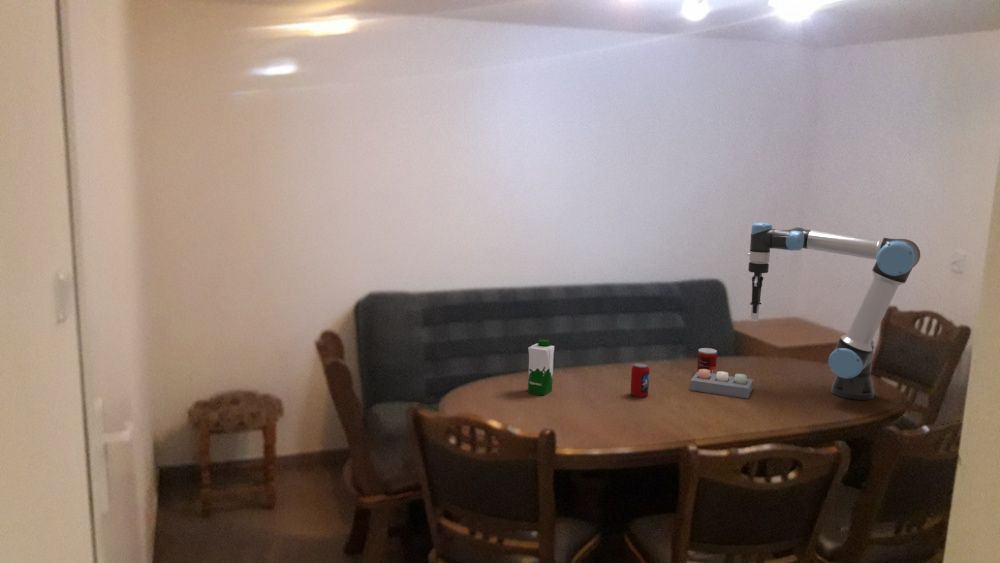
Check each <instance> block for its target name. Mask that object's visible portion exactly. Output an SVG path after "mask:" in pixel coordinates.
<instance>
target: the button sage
mask: <svg viewBox="0 0 1000 563" xmlns="http://www.w3.org/2000/svg"><path fill="white" fill-rule="evenodd" d="M734 377H735V382H734V383H736V384H743V385H746V381H747V375H746V374H744V373H735V375H734Z"/></svg>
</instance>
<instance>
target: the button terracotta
mask: <svg viewBox="0 0 1000 563" xmlns="http://www.w3.org/2000/svg"><path fill="white" fill-rule="evenodd" d="M698 378H700V379H707V380H709V379H710V370H708V369H699V375H698Z"/></svg>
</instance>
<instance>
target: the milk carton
mask: <svg viewBox="0 0 1000 563" xmlns="http://www.w3.org/2000/svg"><path fill="white" fill-rule="evenodd" d="M527 349H528V384H527V393H528V394H532V395H539V396H546V395H548V394H549V393H551V392H552V391H553V382H554V380H553V379H554V378H553V377H554V353H555V345H551V344H550V340H549V339H546V338H539V339H538V343H535V344H532V345H531V346H528V348H527Z"/></svg>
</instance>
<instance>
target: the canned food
mask: <svg viewBox="0 0 1000 563" xmlns="http://www.w3.org/2000/svg"><path fill="white" fill-rule="evenodd" d="M717 357H718V350H716V349H714V348H710V347H709V348H708V347H701V348H698V351H697V362H696V363H697V365H696V367H697V368H696V373H697V372H699V369H708V370H710V373H711V374H717V359H718V358H717Z"/></svg>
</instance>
